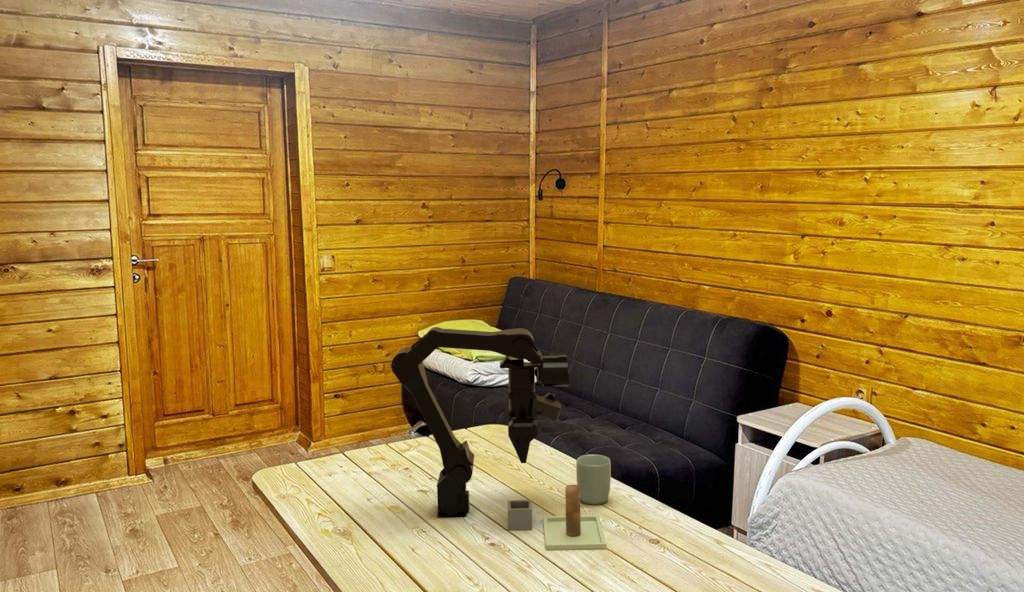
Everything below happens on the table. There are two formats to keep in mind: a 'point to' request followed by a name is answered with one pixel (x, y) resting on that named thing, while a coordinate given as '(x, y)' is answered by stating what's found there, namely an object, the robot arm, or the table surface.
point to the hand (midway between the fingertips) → (523, 455)
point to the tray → (587, 540)
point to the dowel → (573, 510)
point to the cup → (593, 478)
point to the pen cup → (519, 515)
